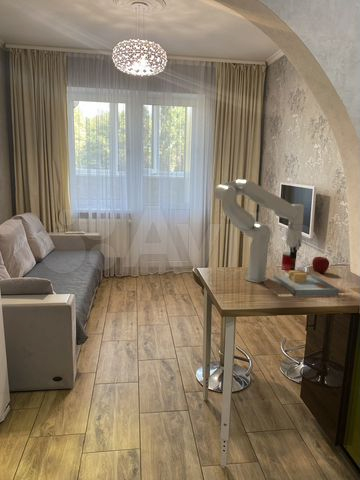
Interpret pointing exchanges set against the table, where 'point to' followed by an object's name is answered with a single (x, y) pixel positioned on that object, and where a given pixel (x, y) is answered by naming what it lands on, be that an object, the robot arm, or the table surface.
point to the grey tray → (308, 287)
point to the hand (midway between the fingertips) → (293, 258)
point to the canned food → (288, 262)
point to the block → (297, 276)
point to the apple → (320, 264)
